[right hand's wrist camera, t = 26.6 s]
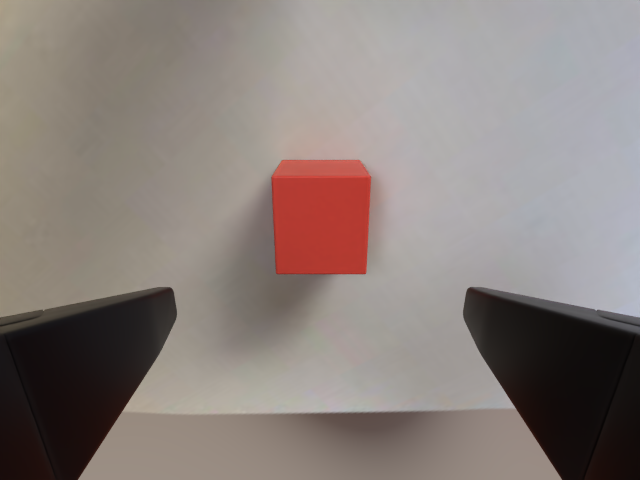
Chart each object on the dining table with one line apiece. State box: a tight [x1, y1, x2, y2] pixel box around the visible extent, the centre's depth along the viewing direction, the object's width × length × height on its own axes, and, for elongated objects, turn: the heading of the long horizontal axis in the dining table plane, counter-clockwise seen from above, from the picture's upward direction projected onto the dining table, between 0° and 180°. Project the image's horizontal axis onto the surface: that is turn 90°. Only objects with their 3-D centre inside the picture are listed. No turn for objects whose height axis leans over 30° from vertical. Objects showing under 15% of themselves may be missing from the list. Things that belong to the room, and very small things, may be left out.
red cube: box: [271, 160, 371, 274], centre depth 20 cm, size 5×5×5 cm
